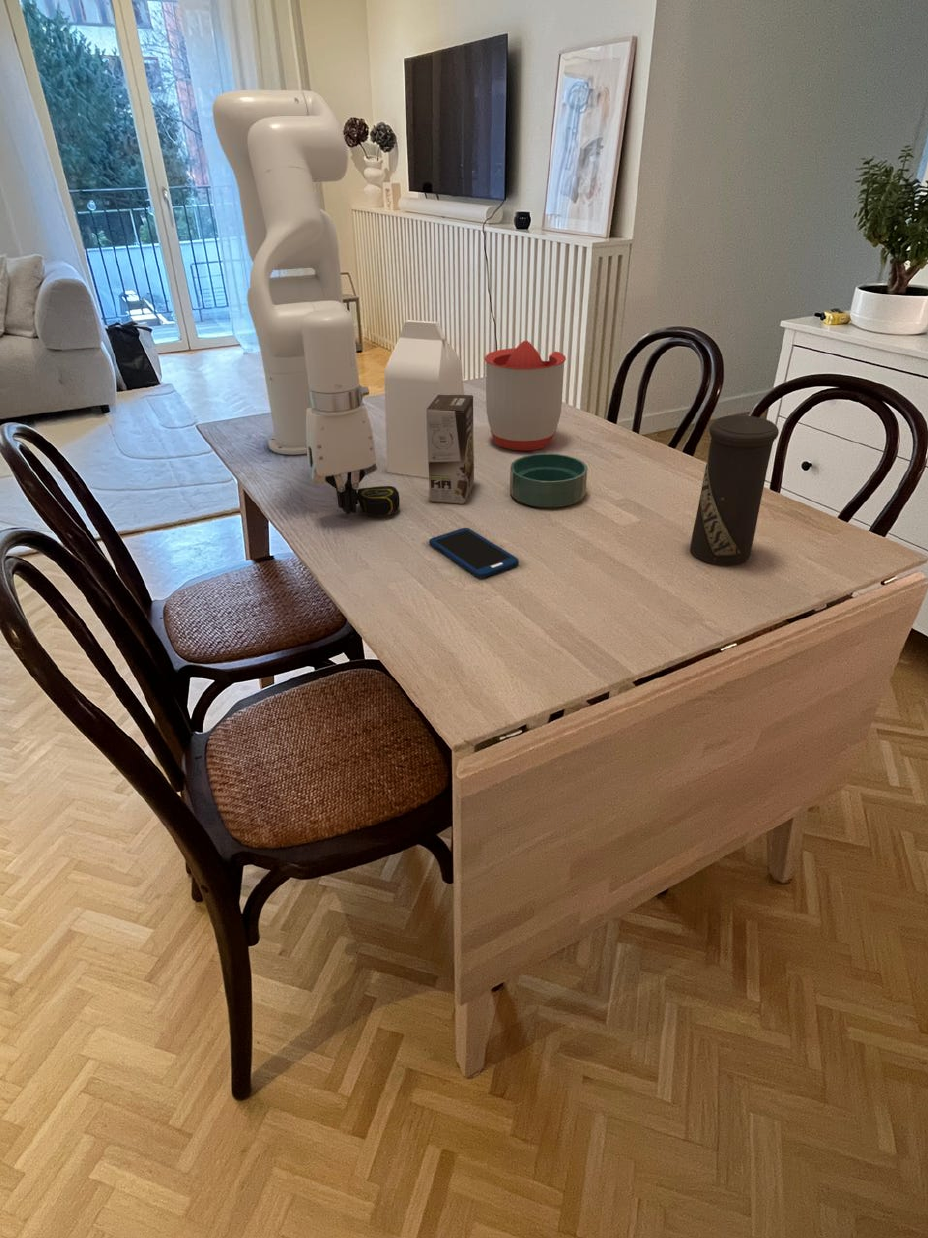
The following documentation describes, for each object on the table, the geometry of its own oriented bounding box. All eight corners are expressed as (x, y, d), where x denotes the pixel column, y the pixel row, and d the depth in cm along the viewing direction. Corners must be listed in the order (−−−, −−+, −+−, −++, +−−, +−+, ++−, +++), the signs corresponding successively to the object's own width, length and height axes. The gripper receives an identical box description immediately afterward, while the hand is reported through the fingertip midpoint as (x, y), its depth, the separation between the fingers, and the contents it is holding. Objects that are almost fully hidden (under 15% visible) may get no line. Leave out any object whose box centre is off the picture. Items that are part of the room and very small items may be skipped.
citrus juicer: (577, 434, 152) (584, 334, 141) (539, 461, 140) (543, 353, 129) (512, 423, 159) (514, 326, 148) (470, 447, 147) (469, 344, 136)
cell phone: (480, 579, 102) (480, 575, 102) (427, 543, 112) (426, 538, 111) (521, 564, 106) (521, 560, 105) (466, 530, 115) (466, 526, 115)
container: (680, 541, 111) (701, 411, 100) (737, 538, 112) (764, 408, 101) (700, 569, 104) (725, 432, 93) (761, 565, 104) (793, 429, 93)
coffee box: (465, 504, 124) (463, 410, 115) (428, 501, 125) (424, 408, 116) (475, 483, 131) (474, 394, 122) (440, 481, 132) (437, 392, 124)
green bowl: (496, 489, 129) (496, 462, 126) (557, 474, 134) (558, 448, 131) (536, 516, 120) (537, 487, 117) (600, 499, 125) (602, 472, 122)
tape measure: (397, 502, 125) (396, 481, 123) (402, 518, 120) (401, 497, 118) (358, 505, 124) (355, 485, 122) (361, 522, 119) (358, 501, 117)
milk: (387, 471, 137) (375, 326, 123) (413, 451, 146) (404, 313, 131) (445, 480, 133) (440, 330, 119) (468, 458, 142) (466, 317, 128)
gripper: (372, 385, 115) (382, 493, 125) (280, 400, 110) (298, 511, 120) (391, 397, 110) (399, 509, 120) (294, 413, 104) (311, 528, 114)
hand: (348, 510), depth 120 cm, fingers closed
